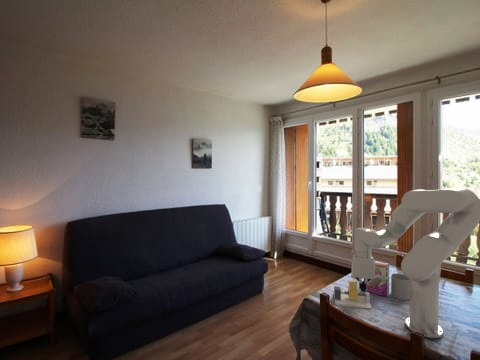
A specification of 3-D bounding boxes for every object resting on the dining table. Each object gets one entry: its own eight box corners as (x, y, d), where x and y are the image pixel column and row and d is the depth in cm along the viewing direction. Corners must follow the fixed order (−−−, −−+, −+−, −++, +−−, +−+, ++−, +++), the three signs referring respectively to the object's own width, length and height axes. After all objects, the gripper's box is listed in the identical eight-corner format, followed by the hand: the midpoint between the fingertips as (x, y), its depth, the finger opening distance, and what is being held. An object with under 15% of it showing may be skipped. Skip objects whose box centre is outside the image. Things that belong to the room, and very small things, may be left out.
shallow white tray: (371, 309, 118) (371, 297, 118) (335, 304, 123) (335, 293, 123) (366, 297, 129) (366, 286, 129) (333, 294, 133) (333, 283, 133)
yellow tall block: (358, 300, 123) (358, 283, 123) (349, 299, 124) (349, 282, 124) (356, 296, 127) (356, 280, 127) (348, 295, 128) (348, 279, 128)
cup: (413, 300, 125) (413, 280, 125) (395, 299, 127) (395, 279, 127) (405, 292, 134) (405, 274, 133) (388, 291, 135) (388, 273, 135)
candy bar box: (363, 290, 136) (363, 260, 136) (366, 287, 140) (366, 258, 140) (387, 297, 129) (387, 265, 128) (389, 294, 132) (389, 263, 132)
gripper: (347, 254, 122) (347, 292, 123) (382, 257, 118) (381, 296, 119) (345, 250, 129) (345, 285, 130) (378, 252, 125) (377, 288, 126)
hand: (362, 290), depth 124 cm, fingers closed
